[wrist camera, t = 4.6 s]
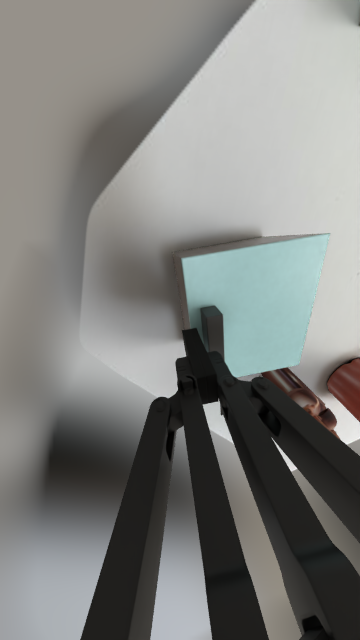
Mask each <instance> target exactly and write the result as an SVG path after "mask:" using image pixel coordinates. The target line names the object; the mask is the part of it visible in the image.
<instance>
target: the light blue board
mask: <svg viewBox="0 0 360 640" xmlns="http://www.w3.org/2000/svg"><path fill="white" fill-rule="evenodd" d="M329 236H330V233H325V234H319V235H313V236H307V237H301V238H296V239H290V240H284V241H278V242H272V243H266V244H260V245H255V246H249V247H243V248H237V249H231V250H225V251H220V252H214V253H208V254H202V255H196V256H190V257H184V258H181V263H182V270H183V278H184V285H185V292H186V299H187V307H188V314H189V321H190V329H192V328H197V330H198V333H199V335H200V337H201V339H202V342H203V344H204V346H205V348H206V351H207V352H212V351H217V352H219V353H220V354H221V356H222V357H223V359H224V361H225V363H226V365H227V366H228V368H229V370H230V372H231V374H232V375H233V376H234V377H236V378H237V377H242V376H247V375H252V374H256V373H261V372H266V371H271V370H276V369H281V368H286V367H291V366H295V365H299V362H300V358H301V354H302V350H303V345H304V341H305V337H306V333H307V329H308V324H309V320H310V316H311V312H312V308H313V303H314V299H315V295H316V291H317V286H318V282H319V278H320V274H321V270H322V265H323V261H324V257H325V253H326V249H327V244H328V240H329Z"/></svg>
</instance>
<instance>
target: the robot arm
mask: <svg viewBox="0 0 360 640" xmlns="http://www.w3.org/2000/svg"><path fill="white" fill-rule="evenodd" d="M182 333H183V339H184V346H185V352H186V356H187V357H183V358H178V359H177V360H176V363H175V364H176V371H177V378H178V381H177V385H178V391H177V392H176V394H175V395H173V396H172V397H170V398H168V399H167V398H166V397H158V398H157V399H155V400H154V401H153V402H152V404H151V405H150V409H149V412H148V415H147V419H146V422H145V425H144V429H143V432H142V435H141V439H140V442H139V445H138V449H137V452H136V456H135V459H134V462H133V465H132V469H131V473H130V476H129V479H128V482H127V486H126V489H125V492H124V496H123V499H122V502H121V506H120V509H119V513H118V516H117V519H116V522H115V526H114V529H113V533H112V536H111V539H110V542H109V546H108V549H107V553H106V556H105V559H104V563H103V566H102V569H101V572H100V576H99V579H98V582H97V586H96V589H95V592H94V596H93V599H92V603H91V606H90V609H89V613H88V616H87V619H86V623H85V626H84V630H83V633H82V636H81V639H80V640H150V636H151V628H152V621H153V613H154V605H155V596H156V589H157V581H158V573H159V565H160V557H161V550H162V542H163V534H164V526H165V517H166V510H167V502H168V494H169V486H170V478H171V471H172V463H173V455H174V447H175V439H176V431H177V429H179V428H181V427H182V426H184V431H185V438H186V445H187V452H188V460H189V467H190V474H191V481H192V488H193V496H194V502H195V510H196V517H197V524H198V532H199V539H200V546H201V552H202V560H203V568H204V575H205V585H206V594H207V603H208V610H209V618H210V625H211V632H212V640H269V638H268V635H267V631H266V628H265V624H264V621H263V617H262V613H261V610H260V606H259V603H258V599H257V596H256V592H255V589H254V586H253V582H252V579H251V576H250V574H249V571H248V568H247V566H246V563H245V559H244V555H243V552H242V548H241V544H240V540H239V537H238V533H237V530H236V526H235V522H234V518H233V515H232V511H231V508H230V504H229V500H228V497H227V493H226V489H225V486H224V482H223V478H222V475H221V471H220V468H219V464H218V460H217V457H216V453H215V449H214V445H213V442H212V438H211V435H210V431H209V427H208V423H207V420H206V416H205V412H204V409H203V404H208V403H212V402H217V401H218V398H219V401H220V407H221V415H224V418H225V421H226V424H227V426H228V429H229V432H230V434H231V437H232V440H233V442H234V445H235V448H236V450H237V453H238V456H239V458H240V461H241V464H242V467H243V469H244V472H245V474H246V477H247V480H248V483H249V485H250V488H251V491H252V493H253V496H254V499H255V501H256V504H257V507H258V509H259V512H260V515H261V517H262V520H263V523H264V526H265V528H266V531H267V534H268V536H269V539H270V542H271V544H272V547H273V550H274V553H275V555H276V558H277V560H278V563H279V566H280V570H281V573H282V577H283V582H284V586H285V588H286V592H287V595H288V598H289V601H290V604H291V607H292V609H293V612H294V615H295V618H296V621H297V623H298V626H299V629H300V632H301V634H302V637H301V638H300V639H299V640H360V576H359V574H358V573H357V571H356V570H355V568H354V567H353V565H352V564H351V562H350V561H349V560H348V559H347V557H346V556H345V555H344V554H343V553H342V552H341V551H340V550H339V549H338V548H337V547H336V546H335V545H334V544H333V543H332V541H331V540H330V539H329V537H328V536H327V534H326V532H325V530H324V529H323V527H322V525H321V523H320V522H319V520H318V518H317V516H316V515H315V513H314V511H313V509H312V508H311V506H310V504H309V503H308V501H307V499H306V497H305V495H304V494H303V492H302V490H301V489H300V487H299V485H298V483H297V481H296V480H295V478H294V476H293V475H292V473H291V471H290V469H289V468H288V466H287V464H286V462H285V461H284V459H283V457H282V455H281V454H280V452H279V450H278V448H277V447H276V445H275V443H274V441H275V442H276V443H277V444H278V446H279V447H280V448H281V449H282V450H283V452H284V453H285V454H286V455H287V456H288V458H289V459H290V460H291V461H292V462H293V464H294V465H295V466H296V467H297V468H298V470H299V471H300V472H301V473H302V474H303V476H304V477H305V478H306V479H307V480H308V482H309V483H310V484H311V485H312V486H313V488H314V489H315V490H316V491H317V492H318V494H319V495H320V496H321V497H322V499H323V500H324V501H325V502H326V503H327V505H328V506H329V507H330V508H331V509H332V511H334V513H335V514H336V515H337V517H338V518H339V519H340V520H341V521H342V523H343V524H344V525H345V526H346V527H347V529H348V530H349V531H350V532H351V533H352V534H353V536H354V537H355V538H356V539H357V541H358V542H359V543H360V456H359V455H358V454H357V453H355V452H354V451H353V450H352V449H351V448H349V447H348V446H347V445H346V444H345V443H344V442H342V441H341V440H340V439H339V438H338V437H336V436H335V435H334V434H333V433H332V432H331V431H329V430H328V429H327V428H326V427H325V426H323V425H322V424H321V423H320V422H319V421H317V420H316V419H315V418H314V417H313V416H312V415H310V414H309V413H308V412H307V411H306V410H304V409H303V408H302V407H301V406H300V405H299V404H297V403H296V402H295V401H294V400H293V399H291V398H290V397H289V396H288V395H287V394H286V393H284V392H283V391H282V390H281V389H280V388H278V387H277V386H276V385H275V384H274V383H273V382H271V381H270V380H269V379H267V378H264V377H255V378H254V379H252V382H248V381H241V380H238V379H237V378H236V377H234V376H233V375H232V374H231V372H230V370H229V368H228V366H227V365H226V363H225V361H224V359H223V357H222V356H221V354H220V353H219V352H217V351H212V352H207V351H206V348H205V346H204V344H203V342H202V339H201V337H200V335H199V333H198V330H197V328H192V329H187V330H182ZM271 437H272V438H273V440H274V441H273V440H272V438H271Z"/></svg>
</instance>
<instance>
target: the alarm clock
mask: <svg viewBox="0 0 360 640" xmlns="http://www.w3.org/2000/svg"><path fill="white" fill-rule="evenodd" d="M261 374H262V376H263V377H264V378H267V379H269V380H270V381H271V382H273V383H274V384H275V385H276V386H277V387H278V388H280V389H281V390H282V391H283V392H284V393H286V394H287V395H288V396H289V397H290V398H291V399H293V400H294V401H295V402H296V403H297V404H299V405H300V406H301V407H302V408H303V409H304V410H306V411H307V412H308V413H309V414H310V415H312V416H313V417H314V418H315V419H316V420H317V421H319V422H320V423H321V424H322V425H323V426H325V427H326V428H327V429H328V430H329V431H331V432H332V433H333V434H334V435H335V436H336V437H338V435H337V434H336V432H335V431H334V430H333V429H334V428H335V426H336V424H337V420H336V417H335V416H334V414H333V413H332V412H331V410H330V409H329V408H327V409H326V407H325V403H324V402H322V401H321V400H320V399H319V398H318V397H317V396H316V395H315V394H314V393H313V392H312V391H311V390H310V389H309V388H308V387H307V386H306V385H305V384H304V383H303V382H302V381H301V380H300V379H299V378H298V377H297V376H296V375H295V374H294V373H293V372H292V371H290V370H289V369H288V368H287V367H286V368H281V369H276V370H271V371H266V372H261ZM338 438H339V437H338ZM339 439H340V438H339Z"/></svg>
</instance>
